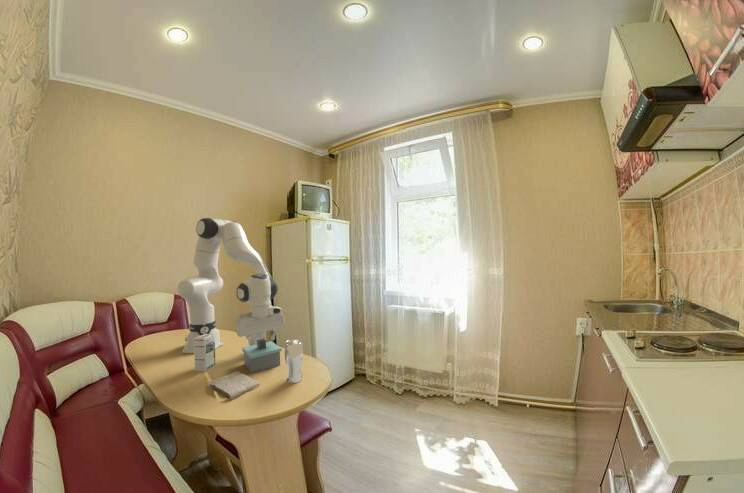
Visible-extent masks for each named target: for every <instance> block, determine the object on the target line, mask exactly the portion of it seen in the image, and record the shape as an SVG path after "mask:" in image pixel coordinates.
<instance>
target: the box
mask: <svg viewBox="0 0 744 493" xmlns="http://www.w3.org/2000/svg"><path fill="white" fill-rule="evenodd" d="M243 364H244V366H245V367H246V369H248V371H249V372H250V373H251V374H255V373H257V372H261V371H265V370H267V369H268V370H269V369H271V368H272V369H273V368H274V367H275V368H276V367H279V366H281V351H280V352H276V353H272V354H268V355H264V356H260V357H256V358H252V359H250V358H249V357H248V356H247V355H246V354H245V353H244V352H243Z"/></svg>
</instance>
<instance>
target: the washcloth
mask: <svg viewBox="0 0 744 493" xmlns="http://www.w3.org/2000/svg"><path fill="white" fill-rule="evenodd" d="M260 385H261V383H260V382H259V381H258V380H256V379H253V377H252V378H251V377H250V376H248V375H246V374H243V373H242V372H241V371H233V372H232V373H230V374H227V375H224V376H221V377H218V378H215V379H213V380H210V382H209V384H208V386H209V387H210V389H211V390H212V391H214V392H216V393H218V392H217V391H220V393H223V395H225V396H226V397H225V398H226V399H227V400H234V399H236V398H238V397H240V396H241V395H244V394H246V393H249V392H252V391H254V390H256V389H258V388H259V387H260Z"/></svg>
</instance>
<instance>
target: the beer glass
mask: <svg viewBox="0 0 744 493" xmlns="http://www.w3.org/2000/svg"><path fill="white" fill-rule="evenodd" d="M303 346H304V345H303V340H302V339H290V340H287V341H285V343H284V358H285V365H286V370H287V373H286V374H287V375H286V376H287V377H286V383H288V384H298V383H300V382H302V381H303V374H302V366H303V357H304V347H303Z"/></svg>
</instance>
